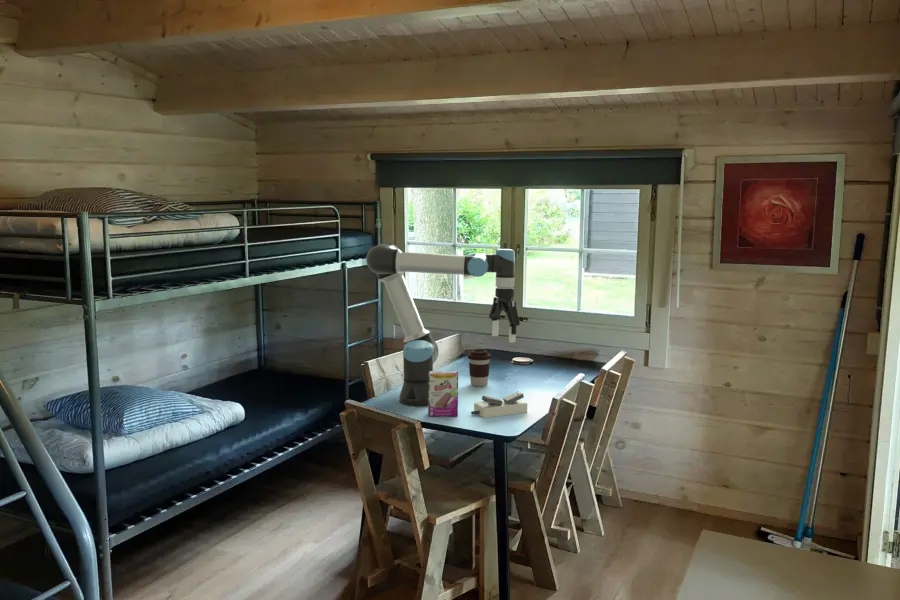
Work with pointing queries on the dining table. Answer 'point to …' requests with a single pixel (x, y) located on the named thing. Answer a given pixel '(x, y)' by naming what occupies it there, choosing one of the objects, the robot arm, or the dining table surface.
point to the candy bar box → (443, 393)
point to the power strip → (499, 408)
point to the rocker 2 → (513, 397)
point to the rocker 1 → (492, 400)
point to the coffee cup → (479, 367)
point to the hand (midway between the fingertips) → (503, 339)
